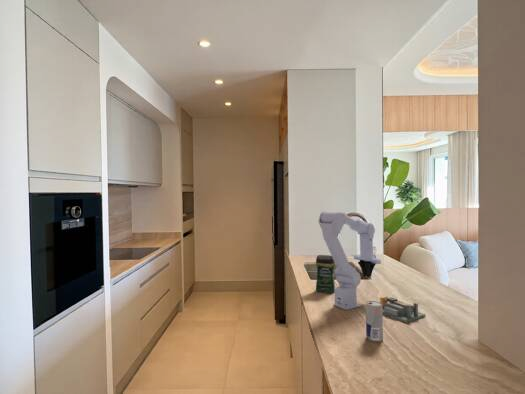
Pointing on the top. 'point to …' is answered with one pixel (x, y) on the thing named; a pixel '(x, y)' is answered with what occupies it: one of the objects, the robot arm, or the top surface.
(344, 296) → the robot arm
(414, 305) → the clamp bar
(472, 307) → the top surface
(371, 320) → the energy drink
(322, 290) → the coffee jar
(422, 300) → the top surface
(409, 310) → the clamp board
